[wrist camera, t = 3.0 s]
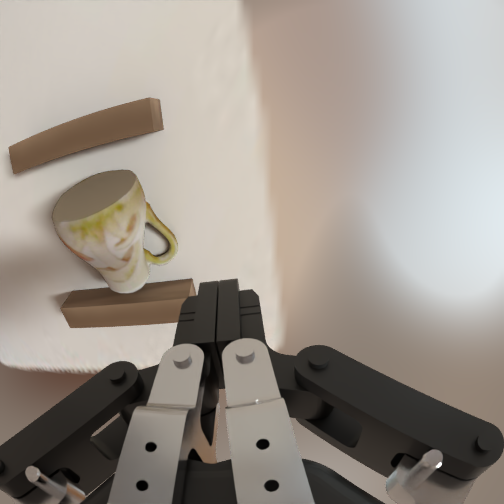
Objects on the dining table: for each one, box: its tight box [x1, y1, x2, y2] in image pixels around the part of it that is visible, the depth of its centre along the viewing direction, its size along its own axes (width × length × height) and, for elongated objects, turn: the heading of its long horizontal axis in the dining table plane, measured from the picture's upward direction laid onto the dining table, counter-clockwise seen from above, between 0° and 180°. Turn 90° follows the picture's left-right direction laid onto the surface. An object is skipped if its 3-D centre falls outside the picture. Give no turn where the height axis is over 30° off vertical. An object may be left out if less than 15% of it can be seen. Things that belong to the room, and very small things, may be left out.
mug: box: [52, 170, 178, 293], centre depth 21 cm, size 8×10×10 cm
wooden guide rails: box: [8, 98, 196, 328], centre depth 22 cm, size 18×13×3 cm
